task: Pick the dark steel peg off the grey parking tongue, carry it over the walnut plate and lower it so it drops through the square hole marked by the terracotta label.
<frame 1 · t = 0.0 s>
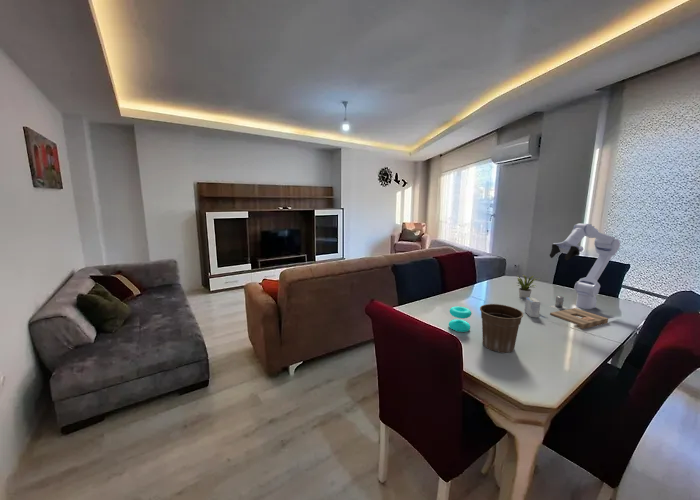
hand: (557, 257, 152), 32 cm above the table, tool tilted 50°, fingers open, 7 cm apart
hole plate: (577, 320, 151), on the table
medicine box: (531, 315, 159), on the table
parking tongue: (558, 309, 166), on the table
house plant: (526, 299, 185), on the table
plant pot: (497, 346, 124), on the table
steel peg: (558, 307, 166), point 1 cm above the table, touching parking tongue
donuts: (459, 328, 141), on the table
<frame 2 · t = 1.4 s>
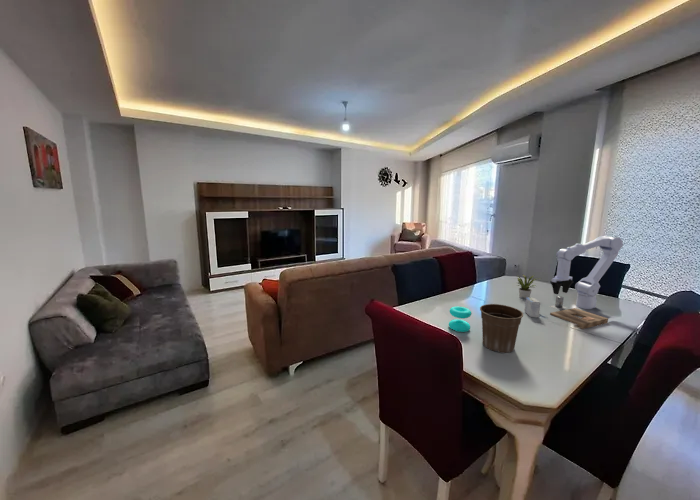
hand: (560, 293, 165), 10 cm above the table, tool pointing down, fingers open, 7 cm apart
nothing on the table moved.
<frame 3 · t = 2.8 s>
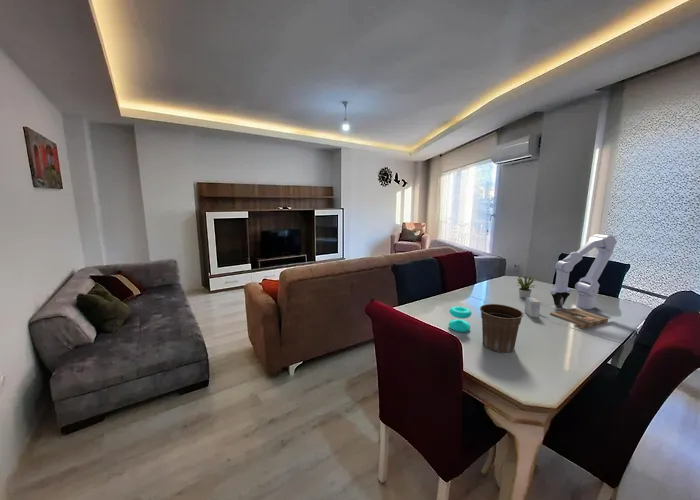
hand: (559, 304, 166), 3 cm above the table, tool pointing down, fingers closed on steel peg, 3 cm apart
steel peg: (558, 307, 166), point 1 cm above the table, touching gripper, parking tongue
everything else where it was.
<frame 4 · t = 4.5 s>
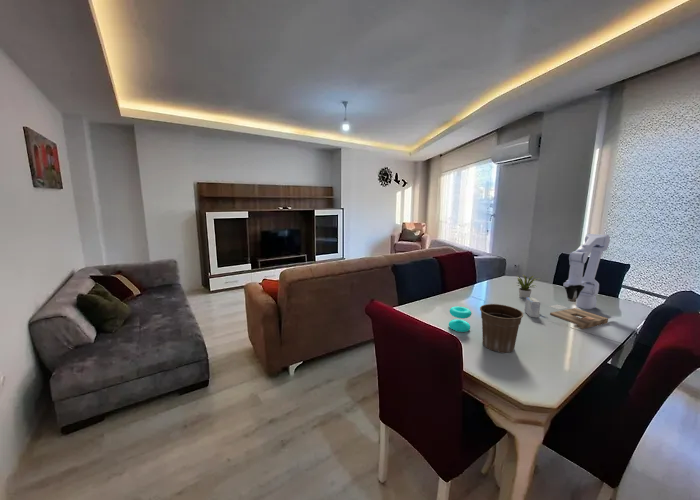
hand: (572, 298, 155), 10 cm above the table, tool pointing down, fingers closed on steel peg, 3 cm apart
steel peg: (571, 300, 156), point 9 cm above the table, touching gripper
everything else where it was.
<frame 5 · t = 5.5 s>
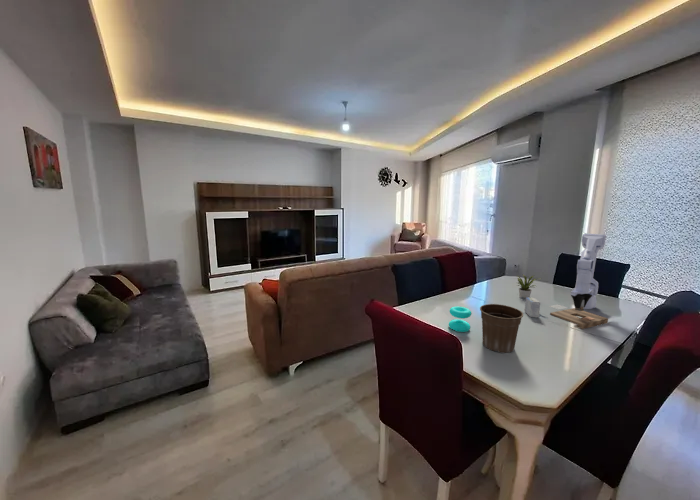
hand: (579, 307, 150), 7 cm above the table, tool pointing down, fingers closed on steel peg, 3 cm apart
steel peg: (579, 309, 151), point 6 cm above the table, touching gripper
everything else where it was.
when the fingers open (4 cm above the table, at t = 6.4 s): steel peg drops 3 cm, resting in hole plate.
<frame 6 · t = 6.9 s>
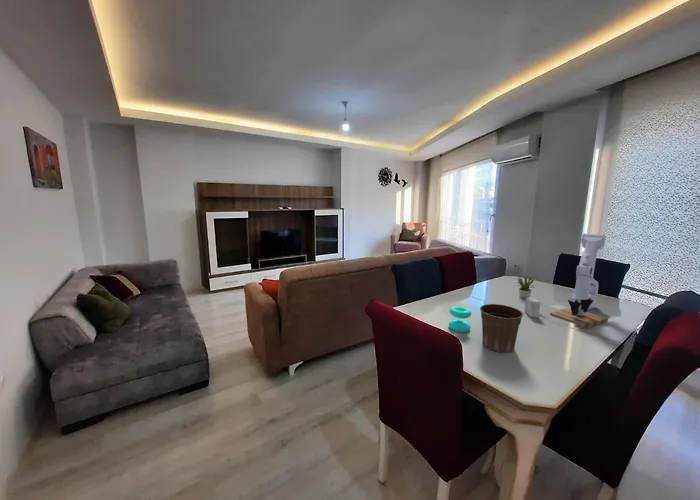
hand: (578, 313, 151), 4 cm above the table, tool pointing down, fingers open, 7 cm apart
steel peg: (577, 320, 151), resting in hole plate
everything else where it was.
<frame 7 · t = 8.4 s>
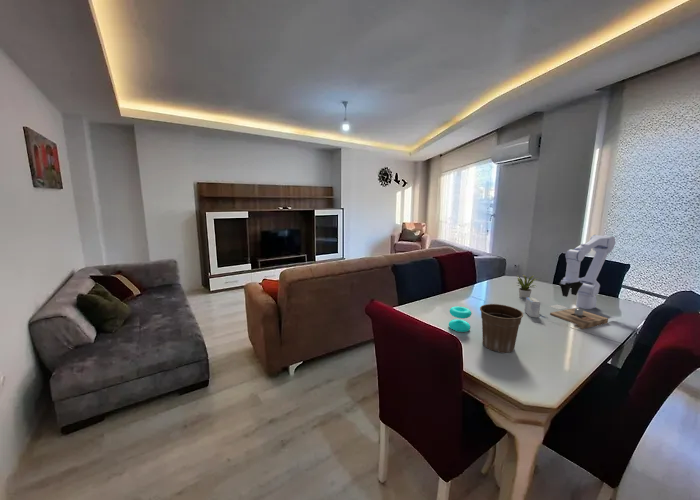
hand: (569, 295, 159), 10 cm above the table, tool pointing down, fingers open, 7 cm apart
nothing on the table moved.
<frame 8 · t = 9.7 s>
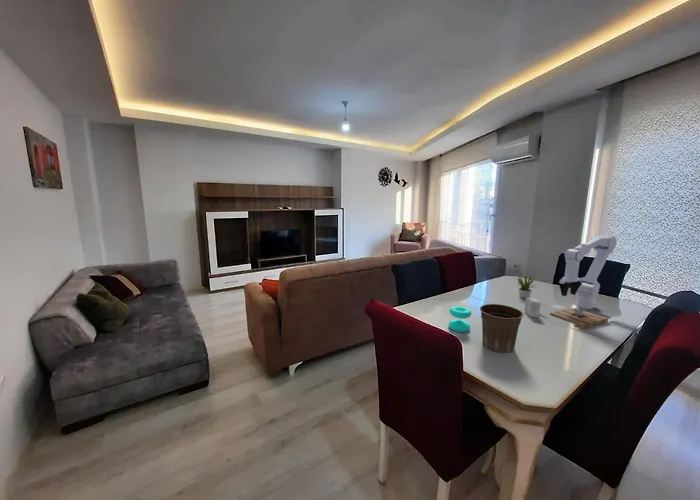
hand: (568, 295, 160), 10 cm above the table, tool pointing down, fingers open, 7 cm apart
nothing on the table moved.
at the end: steel peg 0.1 cm off-centre on the hole plate, point 0.0 cm above the hole plate's base; steel peg tilted 0°; the gripper is holding nothing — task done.
